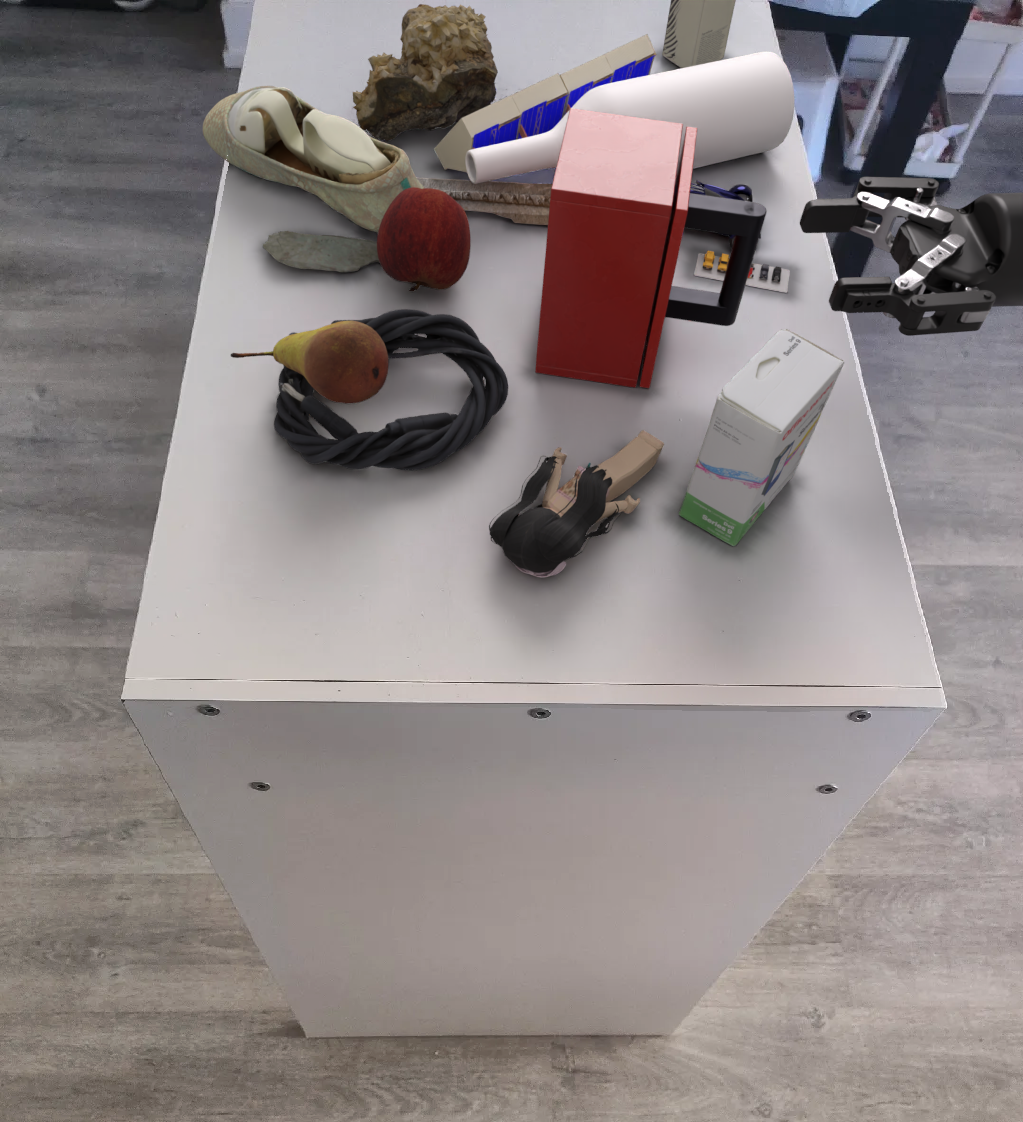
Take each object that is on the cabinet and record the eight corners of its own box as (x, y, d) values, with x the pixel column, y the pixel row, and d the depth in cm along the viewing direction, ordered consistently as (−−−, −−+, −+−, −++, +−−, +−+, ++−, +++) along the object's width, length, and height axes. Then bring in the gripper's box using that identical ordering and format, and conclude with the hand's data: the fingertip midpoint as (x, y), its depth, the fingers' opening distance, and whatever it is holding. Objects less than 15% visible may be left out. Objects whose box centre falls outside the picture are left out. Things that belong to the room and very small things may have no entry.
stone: (400, 234, 87) (394, 264, 83) (399, 251, 88) (394, 282, 85) (268, 219, 86) (257, 249, 83) (270, 236, 87) (259, 267, 84)
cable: (507, 352, 81) (510, 306, 77) (506, 486, 74) (509, 443, 70) (289, 343, 80) (281, 297, 76) (267, 478, 73) (257, 434, 69)
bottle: (807, 99, 89) (496, 169, 82) (770, 169, 97) (482, 238, 89) (767, 28, 91) (458, 90, 83) (733, 102, 99) (447, 165, 91)
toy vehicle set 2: (786, 292, 86) (789, 285, 86) (694, 275, 87) (695, 267, 86) (789, 269, 88) (792, 262, 87) (698, 252, 89) (700, 245, 88)
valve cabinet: (647, 307, 85) (683, 122, 71) (635, 388, 80) (672, 205, 66) (551, 293, 85) (570, 107, 72) (534, 372, 80) (551, 188, 67)
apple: (490, 280, 85) (493, 191, 78) (427, 327, 82) (425, 238, 75) (423, 241, 87) (421, 151, 80) (360, 285, 84) (352, 196, 77)
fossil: (599, 187, 92) (602, 185, 88) (595, 228, 93) (598, 228, 89) (399, 173, 92) (394, 170, 88) (399, 214, 93) (393, 213, 89)
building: (647, 30, 95) (666, 72, 96) (610, 64, 101) (629, 103, 102) (462, 116, 87) (485, 161, 88) (433, 149, 92) (455, 191, 93)
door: (723, 317, 84) (773, 137, 71) (717, 398, 79) (769, 221, 66) (650, 306, 84) (686, 125, 71) (639, 387, 80) (675, 208, 66)
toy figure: (582, 432, 77) (472, 555, 70) (603, 371, 72) (486, 497, 65) (662, 481, 76) (559, 611, 69) (689, 423, 71) (581, 557, 64)
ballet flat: (246, 92, 95) (212, 16, 88) (460, 188, 88) (442, 114, 81) (191, 156, 93) (152, 83, 86) (404, 259, 87) (382, 189, 79)
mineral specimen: (359, 68, 100) (350, -46, 92) (490, 70, 101) (493, -42, 93) (355, 155, 93) (346, 41, 85) (497, 157, 94) (501, 44, 85)
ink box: (735, 447, 77) (778, 320, 67) (795, 481, 76) (848, 355, 65) (675, 516, 73) (710, 391, 63) (736, 552, 72) (783, 431, 62)
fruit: (367, 309, 67) (245, 282, 73) (334, 391, 67) (215, 357, 73) (414, 348, 71) (296, 320, 77) (383, 424, 72) (267, 390, 78)
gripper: (1025, 141, 74) (808, 143, 72) (1103, 269, 66) (863, 275, 65) (980, 233, 80) (779, 237, 79) (1045, 359, 73) (826, 366, 71)
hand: (817, 254), depth 72 cm, fingers open, 8 cm apart
